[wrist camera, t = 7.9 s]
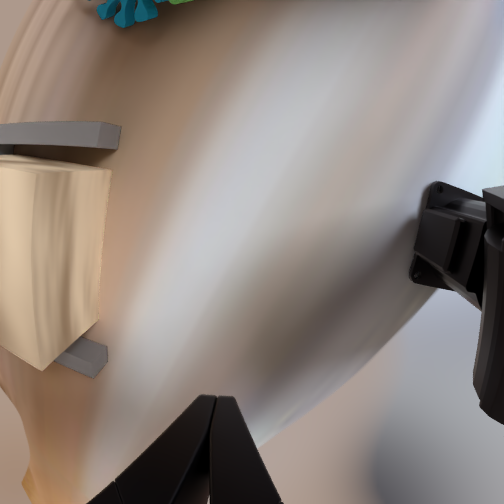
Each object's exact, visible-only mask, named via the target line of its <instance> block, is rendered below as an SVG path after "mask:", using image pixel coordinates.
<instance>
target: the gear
mask: <svg viewBox="0 0 504 504" xmlns="http://www.w3.org/2000/svg"><path fill="white" fill-rule="evenodd" d="M88 1H90V0H88ZM136 1H137V0H108V1H107V3H104V4H101V5H99V6H98V7H97V13H98V15H99V16H100V18H101V19H102V20H104V19H106V18H109V17H112V16H114V14H115V12H116V8H117V5H118V3H119V2H121V5H122V8H121V10H120V11H119V12H118V13H117V14H116V15H115V17H114V23H115V24H116V25H118V26H120V27H122V28H125V27H128V26H131V25H133V24H134V22H135V20H136V21H137V22H142V21H146V20H149V19H152V18H155V17H157V16H158V10H157V8H156V6H155V5H154V3H153V0H138V5H137V8H136V10H135V13H134V9H135V3H136ZM164 1H168V0H155V2H157V3H160V2H164ZM169 1H170V3H172V4H179V3H184V2H189V1H194V0H169Z"/></svg>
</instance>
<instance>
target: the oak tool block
mask: <svg viewBox="0 0 504 504" xmlns="http://www.w3.org/2000/svg"><path fill="white" fill-rule="evenodd" d="M112 173H113V170H110V169H105V168H100V167H94V166H88V165H83V164H77V163H71V162H65V161H59V160H52V159H46V158H39V157H32V156H25V155H18V154H15V155H0V346H2V347H3V348H5V349H6V350H8V351H9V352H11V353H12V354H14V355H16V356H17V357H19V358H20V359H22V360H24V361H25V362H27V363H29V364H30V365H32V366H34V367H35V368H37V369H39V370H40V371H43V370H44V369H45V368H46V367H47V366H48V365H49V364H50V363H51V362H53V361H54V360H55V359H56V358H57V357H58V356H59V355H60V354H61V353H62V352H63V351H64V350H66V349H67V348H68V347H69V346H70V345H71V344H72V343H73V342H74V341H75V340H77V339H78V338H79V337H80V336H81V335H82V334H83V333H84V332H86V331H87V330H88V329H89V328H90V327H91V326H92V325H93V324H95V323H96V322H97V321H98V320H99V290H100V272H101V259H102V247H103V237H104V228H105V220H106V212H107V205H108V198H109V191H110V185H111V179H112Z"/></svg>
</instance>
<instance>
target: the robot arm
mask: <svg viewBox="0 0 504 504" xmlns="http://www.w3.org/2000/svg"><path fill="white" fill-rule="evenodd" d="M438 186H440V192H439V193H438V192H437V187H438ZM482 192H483V198H482V197H479V196H477V195H475V194H472V193H470V192H467V191H465V190H462V189H460V188H457V187H454V186H452V185H449V184H446V183H444V182H440V181H435V182H433V183H432V185H431V188H430V193H429V198H428V202H427V207H426V209H425V210H424V211H423V215H422V219H421V223H420V227H419V231H418V235H417V239H416V242H415V246H414V251H415V254H414V257H413V261H412V264H411V267H410V271H409V278H410V280H411V281H413V282H414V283H417V284H422V285H427V286H431V287H436V288H441V289H446V290H451V291H456V292H457V293H459V294H460V295H461V296H462V297H464V298H465V299H466V300H467V301H469V302H470V303H471V304H473V305H474V306H475V307H476V308H478V309H479V310H480V311H481V312H482V314H481V323H480V332H479V339H478V347H477V352H476V358H475V365H474V369H473V385H474V388H475V390H476V392H477V395H478V397H479V399H480V404H479V406H480V408H481V409H482V410H483V411H484V412H485V413H486V414H487V415H488V416H489V417H491V418H492V419H494V420H496V421H497V422H499V423H501V424H503V425H504V186H498V187H492V188H486V189H482ZM416 272H419V275H418V276H417V277H414V275H415V273H416ZM209 495H210V504H284V503H283V502H281V498H280V496H279V494H278V492H277V490H276V488H275V486H274V484H273V482H272V480H271V477H270V475H269V474H268V471H267V469H266V467H265V465H264V463H263V461H262V458H261V457H260V454H259V452H258V450H257V448H256V445H255V443H254V441H253V439H252V436H251V434H250V432H249V430H248V427H247V425H246V423H245V421H244V418H243V416H242V414H241V411H240V409H239V407H238V404H237V402H236V399H235V398H234V397H233V396H218V397H216V396H215V395H205V394H201V395H199V396H198V397H197V398H196V399H195V400H194V401H193V402H192V403H191V404H190V405H189V406H188V408H187V409H186V410H185V411H184V412H183V413H182V414H181V415H180V416H179V417H178V418H177V419H176V420H175V421H174V422H173V423H172V424H171V425H170V426H169V427H168V428H167V429H166V430H165V431H164V432H163V433H162V434H161V435H160V436H159V437H158V438H157V439H156V440H155V441H154V442H153V443H152V444H151V445H150V446H149V447H148V448H147V449H146V450H145V451H144V452H143V453H142V454H141V455H140V456H139V457H138V458H137V459H136V460H135V461H134V462H133V463H132V464H130V465H129V466H128V467H127V468H126V469H125V470H124V471H123V472H122V473H121V474H120V475H119V476H118V477H117V478H116V479H115V482H114V481H112V482H111V483H110V484H109V485H108V486H107V487H106V488H105V489H103V490H102V491H101V492H100V493H99V494H98V495H96V496H95V497H94V498H93V499H92V500H90V501H89V502H88V503H87V504H207V502H208V498H209Z"/></svg>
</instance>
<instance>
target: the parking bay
mask: <svg viewBox="0 0 504 504" xmlns="http://www.w3.org/2000/svg"><path fill="white" fill-rule="evenodd" d="M120 132H121V126H117V125H112V124H108V123H104V122H88V121H54V122H25V123H9V124H0V155H13V150H14V144H31V145H59V146H78V147H93V148H105V149H118V143H119V137H120ZM54 361H55V362H57V363H59V364H61V365H63V366H65V367H68V368H70V369H72V370H74V371H77V372H79V373H81V374H84V375H86V376H88V377H91V378H93V379H94V377H95V376H96V375H97V374H98V373H99V371H100V370H101V369H102V368H103V367H104V366H105V364H106V363H107V362H108V354H107V346H104V345H102V344H99V343H96V342H93V341H91V340H88V339H85V338H83V337H79V338H78V339H77V340H75V341H74V342H73V343H72V344H71V345H70V346H69V347H68V348H67V349H66V350H64V351H63V352H62V353H61V354H60V355H59V356H58V357H57V358H56V359H55V360H54Z"/></svg>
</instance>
